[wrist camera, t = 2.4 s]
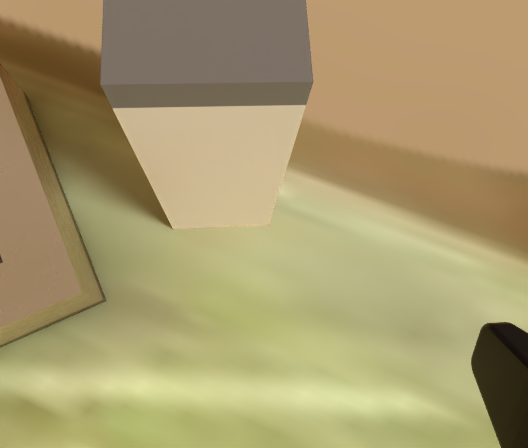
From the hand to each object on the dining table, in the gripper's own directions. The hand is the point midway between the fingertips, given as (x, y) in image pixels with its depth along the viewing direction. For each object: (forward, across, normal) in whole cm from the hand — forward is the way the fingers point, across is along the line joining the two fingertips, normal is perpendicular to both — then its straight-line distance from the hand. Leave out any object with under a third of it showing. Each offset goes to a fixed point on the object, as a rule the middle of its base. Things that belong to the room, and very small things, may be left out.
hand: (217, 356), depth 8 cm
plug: (+15, 0, +4) cm, 16 cm away
